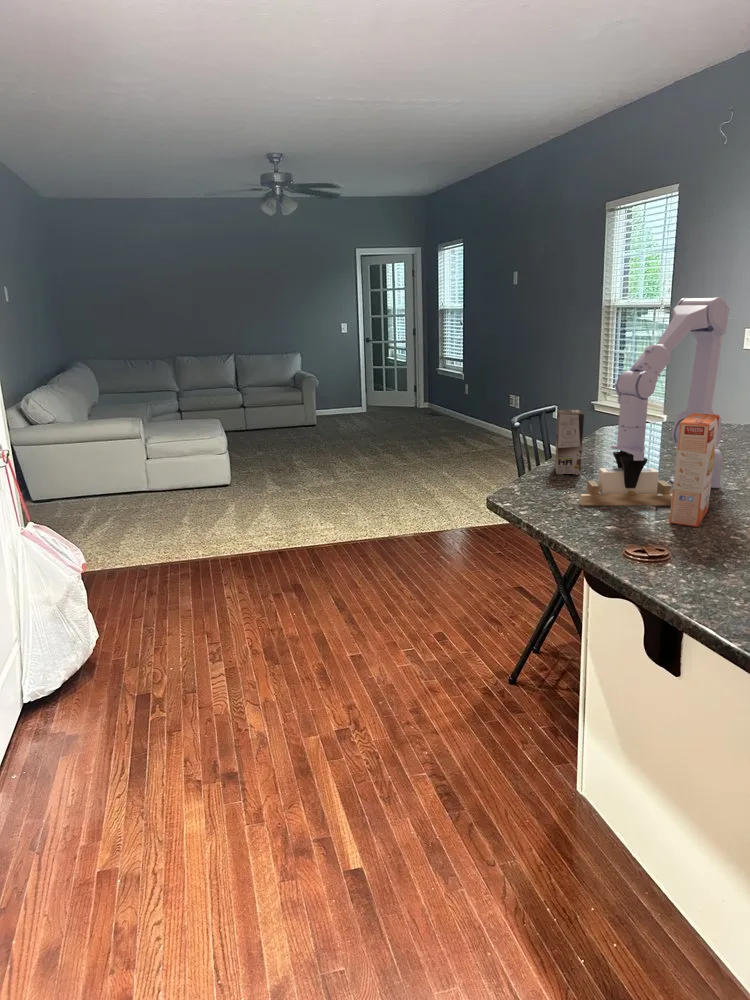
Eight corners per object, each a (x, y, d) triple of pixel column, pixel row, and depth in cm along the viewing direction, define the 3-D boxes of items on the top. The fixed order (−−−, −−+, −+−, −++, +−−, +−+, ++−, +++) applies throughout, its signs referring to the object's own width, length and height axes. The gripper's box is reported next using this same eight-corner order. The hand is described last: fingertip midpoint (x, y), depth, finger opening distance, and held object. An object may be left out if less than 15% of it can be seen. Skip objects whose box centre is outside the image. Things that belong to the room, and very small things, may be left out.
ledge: (673, 497, 161) (675, 480, 160) (683, 505, 155) (684, 487, 154) (575, 497, 163) (576, 480, 162) (581, 505, 156) (582, 487, 155)
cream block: (651, 489, 161) (653, 467, 159) (656, 493, 157) (658, 471, 156) (597, 489, 162) (599, 467, 160) (601, 493, 158) (603, 471, 157)
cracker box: (700, 528, 139) (711, 423, 133) (668, 524, 142) (677, 421, 136) (710, 510, 150) (721, 413, 145) (680, 507, 153) (689, 411, 148)
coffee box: (581, 475, 183) (584, 413, 179) (555, 474, 185) (558, 413, 180) (578, 467, 192) (582, 408, 188) (554, 467, 193) (557, 408, 189)
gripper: (605, 420, 163) (602, 477, 166) (622, 431, 149) (617, 493, 152) (637, 420, 162) (632, 477, 166) (656, 431, 148) (651, 493, 152)
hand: (627, 485), depth 159 cm, fingers closed on cream block, 4 cm apart
